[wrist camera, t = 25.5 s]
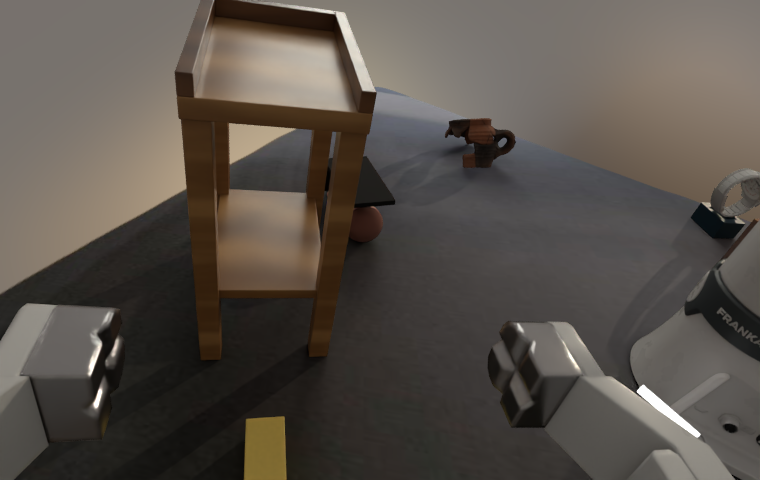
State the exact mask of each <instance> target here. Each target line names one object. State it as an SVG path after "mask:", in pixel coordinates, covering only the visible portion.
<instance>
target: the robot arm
mask: <svg viewBox="0 0 760 480" xmlns="http://www.w3.org/2000/svg"><path fill="white" fill-rule="evenodd" d="M121 324H122V319H121V313H120V310H119V309H118V308H108V307H90V306H72V305H43V304H26V305H25V306H23V307H22V308H21V309H20V310H19V311H18V313H17V314H16V316H15V318H14V319H13V321H12V323H11V324H10V326H9V328H8V329H7V331H6V333H5V334H4V336H3V338H2V339H1V341H0V480H14V479H15V478H16V477H17V476H18V475H19V474H20V473H21V472H22V471H23V470H24V469H25V468H26V467H27V466H28V465H29V464H30V463H31V462H32V461H33V460H34V459H35V458H36V457H37V456H38V455H39V454H40V453H41V452H43V451H44V450H45V449H46V448H47V447H48V446H49V445H48V443H50V442H69V441H87V440H102V438H103V435H104V432H105V429H106V425H107V422H108V419H109V416H110V413H111V410H112V404H111V397H110V394H111V393H112V392H113V391H115V390H116V389H117V388H118V387H119V383H120V380H121V376H122V372H123V366H124V359H125V345H124V339H123V338H122V337H121V336H120V335H119V334H118V333H119V330H120V327H121ZM499 333H500V335H501V338H502V340H500V341H499V342H497V343H496V344H495V345H493V347H492V349H491V351H490V353H489V356H488V372H489V377H490V379H491V382H492V384H493V386H494V387H495V388H496V389H498V390H499V391H500V392H501V393H502V398H501V401H500V403H501V405H502V408H503V410H504V412H505V415H506V417H507V419H508V422H509V424H510V426H511V428H545V429H544V430H545V431H546V432H547V433H548V434H549V435H550V436H551V437H552V438H553V439H554V440H555V441H556V442H557V443H558V444H559V445H560V446H561V447H562V448H563V449H564V450H565V451H566V452H567V453H568V454H569V455H570V457H571V458H572V459H573V460H574V461H575V462H576V463H577V464H578V465H579V466H580V467H581V468H582V469H583V470H584V471H585V472H586V473H587V474H588V475H589V476H590V477H591V478H592V479H593V480H735V479H734V478H733V476H732V475H734V476H736V477H738V478H740V479H741V480H760V220H759V221H758V222H757V224H756V225H755V226H754V227H753V228H752V230H751V231H750V232H749V233H748V234H747V236H746V237H745V238H744V239H743V240H742V242H741V243H740V244H739V245H738V246H737V247H736V249H735V250H734V251H733V252H732V253H731V255H730V256H729V257H728V258H725V259H723V260H721V261H719V262H718V263H717V264H716V265H715V266H714V267H713V268H712V269H711V271H708V272H707V273H706V274H705V276H704V277H703V278H702V279H701V280H700V282H699V283H698V284H697V285H696V287H695V288H694V289H693V290H692V292H691V293H690V294H689V296H688V297H687V300H686V302H685V306H684V307H683V308H681V309H680V310H679V311H678V312H677V313H676V314H675V315H674V316H672V317H671V318H670V319H669V320H668V321H667V322H665V323H664V324H663V325H661V326H660V327H659V328H657V329H656V330H654V331H653V332H651V333H650V334H648V335H646V336H645V337H643V338H641V339H639V340H638V341H637V342H636V343H635V344H634V345H633V347H632V350H631V353H630V364H631V369H632V372H633V375H634V377H635V379H636V382H637V383H638V385H639V387H640V388H639V390H638V391H637V392H638V393H639V394H640V395H641V396H643V397H644V398H645V399H646V400H647V401H648V402H649V403H651V404H652V405H653V406H652V405H651V404H649V403H648V402H646V401H645V400H644V399H642V398H641V397H639V396H638V395H636V394H635V393H634V392H632V391H631V390H629V389H628V388H627V387H625V386H624V385H622V384H621V383H620V382H618V381H617V380H615V379H614V378H612V377H611V376H605V375H604V374H603V372H602V371H601V369H600V367H599V366H598V364H597V363H596V361H595V360H594V358H593V357H592V355H591V354H590V352H589V351H588V349H587V348H586V346H585V345H584V343H583V342H582V340H581V339H580V337H579V336H578V334H577V333H576V331H575V330H574V328H573V327H572V326H571V325H570V324H568V323H567V322H535V321H508V322H506V323H505V324H504V325H503V327H502V329H501V330H500V332H499ZM731 474H732V475H731Z"/></svg>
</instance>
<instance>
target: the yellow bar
mask: <svg viewBox="0 0 760 480" xmlns="http://www.w3.org/2000/svg"><path fill="white" fill-rule="evenodd" d="M244 480H286V451H285V418H284V417H268V418H252V419H246V431H245V461H244Z"/></svg>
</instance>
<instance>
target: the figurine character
mask: <svg viewBox="0 0 760 480" xmlns="http://www.w3.org/2000/svg"><path fill="white" fill-rule="evenodd" d="M332 162H333V158H329V160H328V167H327V175H326V183H325V190H324V191H327V196H328V191H329V184H330V176H331V169H332ZM394 204H395V199H394V197H393V196H392V194H391V193H390V191H389V190H388V188H387V187H386V185H385V184H384V182H383V181H382V179H381V178H380V176H379V175H378V173H377V172H376V170H375V169H374V167H373V166H372V164H371V162H370V161H369V159H368V158H367V156H365V157H363V159H362V165H361V171H360V176H359V182H358V187H357V193H356V198H355V204H354V209H353V215H352V220H351V226H350V232H349V237H350V238H351V239H353V240H355V241H357V242H368V241H371V240H373V239H375V238H376V237H377V236H378V235H379V233H380V232H381V230H382V226H383V220H382V216H381V214H380V212H379V211H378V210H377V209H376V208H375V207H374V206H383V205H394ZM326 205H327V203H326Z"/></svg>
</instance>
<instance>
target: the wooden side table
mask: <svg viewBox="0 0 760 480" xmlns="http://www.w3.org/2000/svg"><path fill="white" fill-rule="evenodd" d="M175 80H176V93H177V105H178V117H179V119H181V124H182V136H183V149H184V161H185V174H186V185H187V199H188V211H189V223H190V236H191V248H192V260H193V272H194V285H195V297H196V309H197V322H198V334H199V346H200V359H201V360H220V359H221V352H222V328H221V300H220V298H314V301H313V308H312V315H311V323H310V330H309V337H308V352H309V357H319V356H327V354H328V348H329V342H330V337H331V331H332V326H333V320H334V315H335V309H336V304H337V298H338V293H339V287H340V281H341V276H342V270H343V265H344V259H345V254H346V248H347V243H348V237H349V232H350V226H351V220H352V215H353V209H354V204H355V198H356V193H357V187H358V182H359V176H360V171H361V165H362V159H363V154H364V148H365V143H366V137H367V134H369V132H370V127H371V122H372V116H373V110H374V105H375V100H376V94H377V93H376V90H375V87H374V85H373V82H372V80H371V77H370V75H369V72H368V70H367V67H366V65H365V62H364V60H363V57H362V55H361V52H360V50H359V47H358V45H357V42H356V40H355V37H354V35H353V32H352V29H351V27H350V24H349V22H348V19H347V17H346V14H345V13H342V12H334V11H328V10H322V9H315V8H308V7H301V6H294V5H287V4H279V3H273V2H266V1H259V0H201V1H200V4H199V7H198V9H197V12H196V15H195V18H194V20H193V23H192V26H191V29H190V31H189V34H188V37H187V40H186V43H185V45H184V48H183V51H182V53H181V56H180V59H179V62H178V65H177V67H176V70H175ZM229 123H235V124H247V125H260V126H273V127H285V128H296V129H309V130H312V137H311V146H310V156H309V166H308V176H307V186H306V193H293V192H273V191H252V190H232V189H230V164H229ZM332 131H333V132H336V140H335V147H334V154H333V162H332V169H331V176H330V184H329V191H328V198H327V205H326V213H325V220H324V227H323V235H322V242H321V241H320V233H319V229H320V221H321V213H322V206H323V198H324V190H325V183H326V175H327V167H328V160H329V152H330V144H331V137H332Z"/></svg>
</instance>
